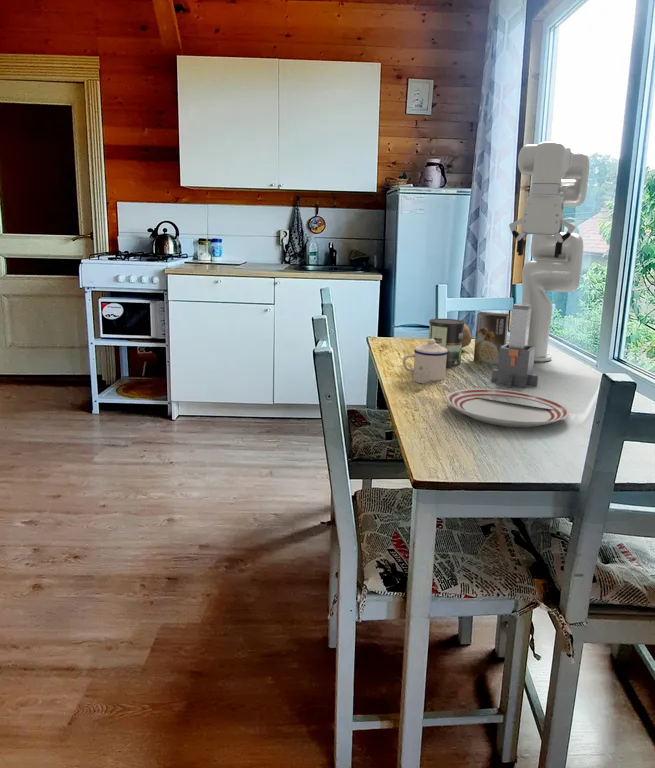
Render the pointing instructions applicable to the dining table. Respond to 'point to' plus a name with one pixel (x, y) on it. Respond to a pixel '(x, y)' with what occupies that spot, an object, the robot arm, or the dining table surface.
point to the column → (520, 326)
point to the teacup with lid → (428, 362)
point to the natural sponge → (466, 336)
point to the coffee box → (490, 336)
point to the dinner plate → (506, 408)
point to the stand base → (515, 367)
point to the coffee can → (448, 338)
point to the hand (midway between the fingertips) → (538, 256)
